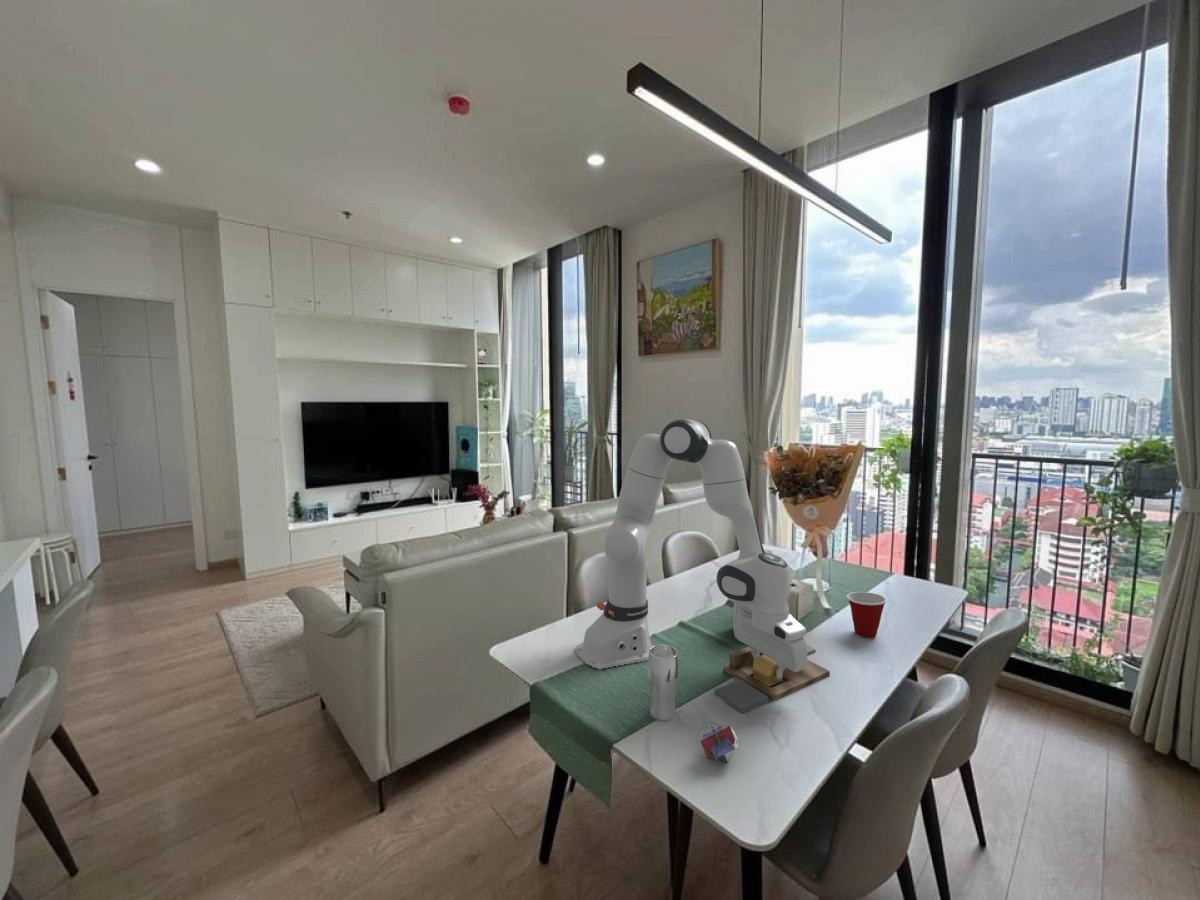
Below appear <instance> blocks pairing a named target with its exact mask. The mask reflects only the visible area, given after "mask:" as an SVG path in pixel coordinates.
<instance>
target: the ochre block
mask: <svg viewBox="0 0 1200 900" xmlns="http://www.w3.org/2000/svg"><path fill="white" fill-rule="evenodd" d="M778 667H779V666H777V662H776V661H774V660H772V659H771V658H769V657H767V656H765V655H761V656H759V657H756V658H754V661H753V677H754V678H755V679H756V680H758V681H759V682H761V683H763V684H764V685H766V686H767V687H771V686H773V685H775V684H778V683H781V682H783V681H782V678H780V679H778V678H776V677H775V676H773V674H774V673H773V670H774V669H777V668H778Z"/></svg>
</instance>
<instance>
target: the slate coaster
mask: <svg viewBox="0 0 1200 900" xmlns="http://www.w3.org/2000/svg"><path fill="white" fill-rule="evenodd" d="M713 694H714V695H715V696H717V697H718V698H720V699H721V700H722V701H724V702H725V703H727V704H728V705H729V706H731V707H732V708H734V709H735V710H737V712H739V713H741V714H743V713H745V712H747V711H750V710H752V709H754V708H757V707H758V706H759V707H760V706H762V705H764V704H765V703H768V702H770V700H769V697H768V696H766V695H764V694H763V693H761V692H760V691H758V690H757V689H755V688H754V687H752V686H750V685H749V684H747V683H746V682H744V681H743V680H741V679H740V680H738V679H737V680H735V681H733V682H729V683H727V684H726V685H723V686H720V687H717V688H715V689H714V693H713Z"/></svg>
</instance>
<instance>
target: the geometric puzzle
mask: <svg viewBox="0 0 1200 900" xmlns="http://www.w3.org/2000/svg"><path fill="white" fill-rule="evenodd" d="M707 724H709V725H710V728H711V730H710V731H709V732H707V733H703V735H702V736H701V739H702V740H699V742H700V744H701V746H702V749H703V751H704V754H705V757H706V759H709V760H711V757H712V756H713V757H712V760H714V761H715V760H716V761H718V762H719V761H720V762H722V763H727V764H728V763H729V762H730V760H728V759H727V756H726V754H728V753H730V752H731V755H730V756H729V757H730V758H731V757H732V755H733V753H734V750H736V749H737V748H738V747H739V740H738V739H739V738H738V736H737V734H736V732H735V730H734V729H733V728H732V727H731V725H728V726H726V727H725V728H723V727H724V725H723V726H722V725H718V724H719V723H717V722H716V723H714V722H712V721H708V722H707ZM712 725H716V726H718V727H716V728H714V727H713V726H712ZM707 727H708V726H706V728H705V730H704V731H706V729H707ZM720 757H723V758H724V759H725V761H724V760H722V759H719V758H720Z"/></svg>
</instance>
